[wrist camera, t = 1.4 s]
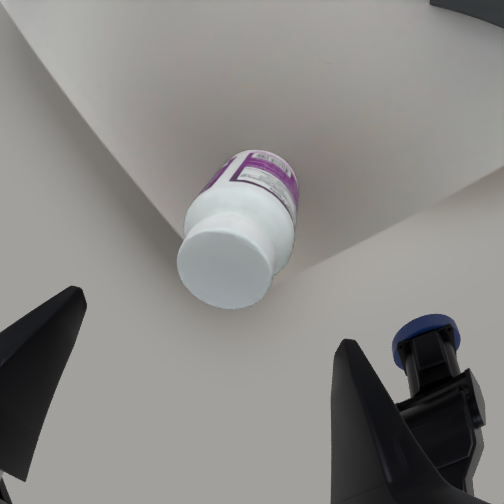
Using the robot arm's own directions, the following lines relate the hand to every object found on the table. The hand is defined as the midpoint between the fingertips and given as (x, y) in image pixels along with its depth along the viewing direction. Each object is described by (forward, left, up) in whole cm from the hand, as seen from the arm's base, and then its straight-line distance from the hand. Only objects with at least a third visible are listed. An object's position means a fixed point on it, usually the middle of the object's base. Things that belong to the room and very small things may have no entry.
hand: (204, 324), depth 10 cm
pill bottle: (0, 0, -13) cm, 13 cm away
